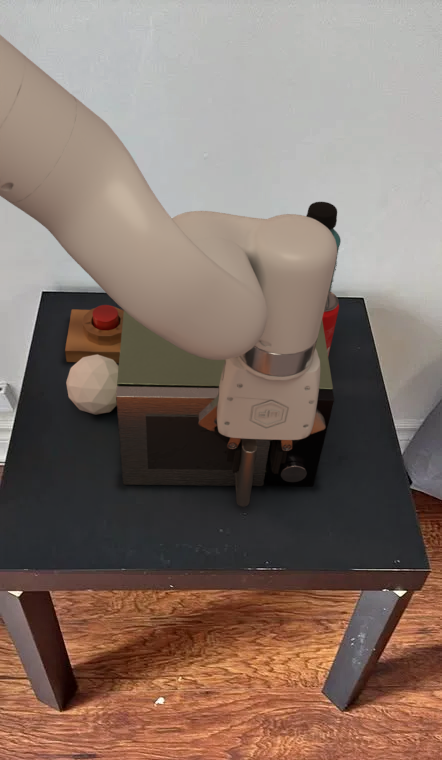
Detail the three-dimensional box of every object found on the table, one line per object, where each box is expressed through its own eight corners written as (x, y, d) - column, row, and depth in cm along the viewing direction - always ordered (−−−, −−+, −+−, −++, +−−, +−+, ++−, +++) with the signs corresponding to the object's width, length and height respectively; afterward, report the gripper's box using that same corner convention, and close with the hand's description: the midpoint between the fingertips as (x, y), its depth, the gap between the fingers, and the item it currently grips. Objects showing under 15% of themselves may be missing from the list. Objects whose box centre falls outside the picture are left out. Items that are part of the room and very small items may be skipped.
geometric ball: (89, 427, 103) (49, 405, 97) (96, 374, 105) (58, 349, 99) (134, 419, 99) (96, 396, 93) (140, 365, 102) (103, 338, 95)
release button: (117, 331, 106) (117, 321, 105) (92, 330, 106) (91, 320, 104) (119, 314, 108) (118, 305, 107) (94, 314, 108) (93, 304, 107)
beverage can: (288, 375, 108) (299, 308, 98) (292, 351, 111) (303, 284, 101) (323, 381, 107) (338, 314, 98) (327, 356, 110) (341, 290, 101)
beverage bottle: (292, 344, 112) (312, 226, 96) (274, 317, 115) (290, 198, 100) (331, 335, 113) (357, 217, 98) (312, 308, 117) (333, 191, 101)
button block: (144, 364, 107) (143, 342, 104) (66, 362, 107) (63, 340, 104) (146, 322, 113) (145, 301, 110) (73, 320, 112) (70, 299, 109)
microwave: (313, 492, 95) (335, 404, 82) (122, 489, 93) (115, 399, 81) (301, 388, 106) (318, 297, 93) (131, 384, 105) (125, 291, 92)
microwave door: (265, 520, 91) (280, 435, 79) (120, 519, 90) (112, 432, 78) (262, 476, 96) (275, 388, 83) (123, 474, 95) (116, 385, 82)
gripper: (190, 366, 70) (182, 487, 84) (366, 373, 71) (329, 491, 85) (190, 314, 74) (182, 437, 88) (355, 321, 76) (321, 441, 90)
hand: (254, 462), depth 87 cm, fingers open, 4 cm apart
